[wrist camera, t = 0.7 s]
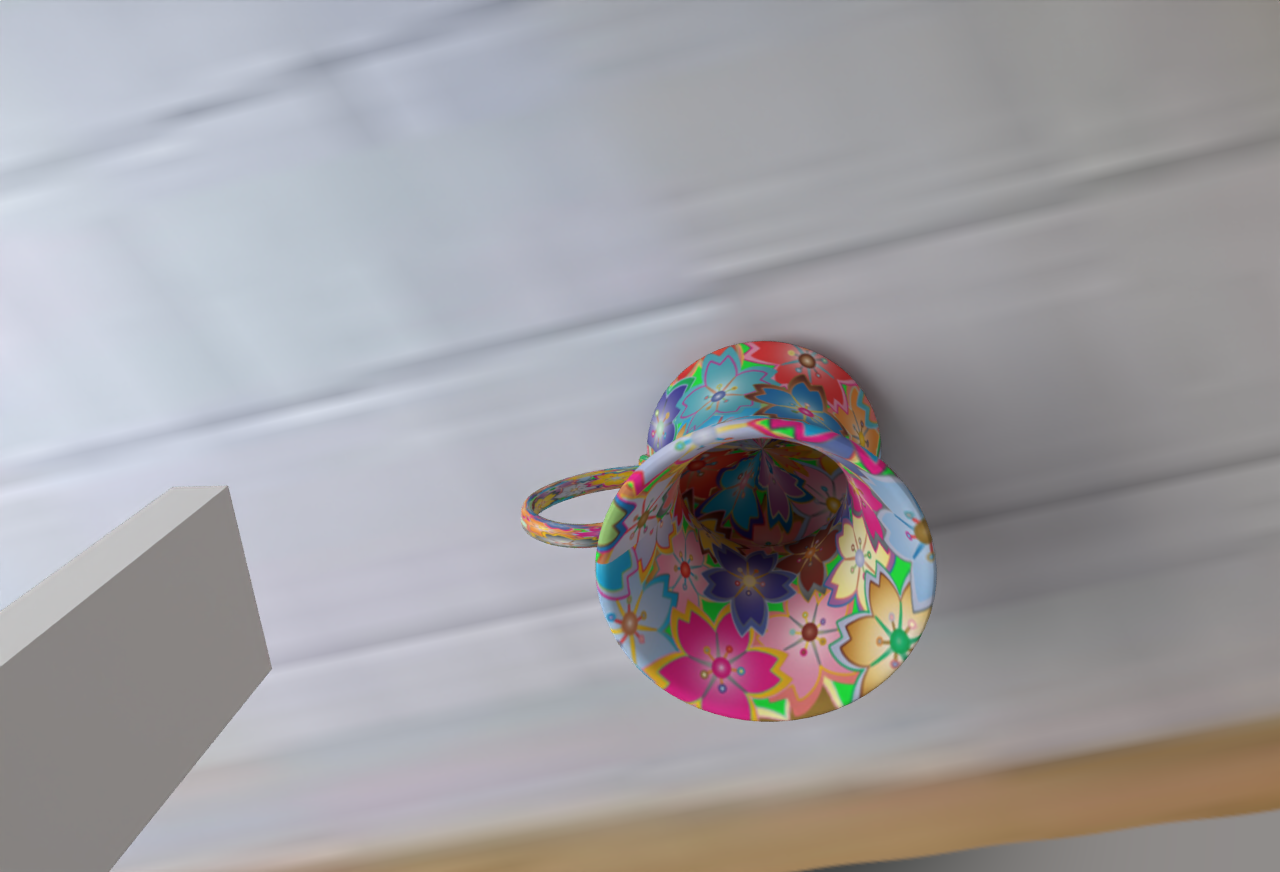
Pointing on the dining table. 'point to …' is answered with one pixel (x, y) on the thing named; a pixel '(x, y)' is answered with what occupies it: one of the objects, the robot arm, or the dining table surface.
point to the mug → (757, 540)
